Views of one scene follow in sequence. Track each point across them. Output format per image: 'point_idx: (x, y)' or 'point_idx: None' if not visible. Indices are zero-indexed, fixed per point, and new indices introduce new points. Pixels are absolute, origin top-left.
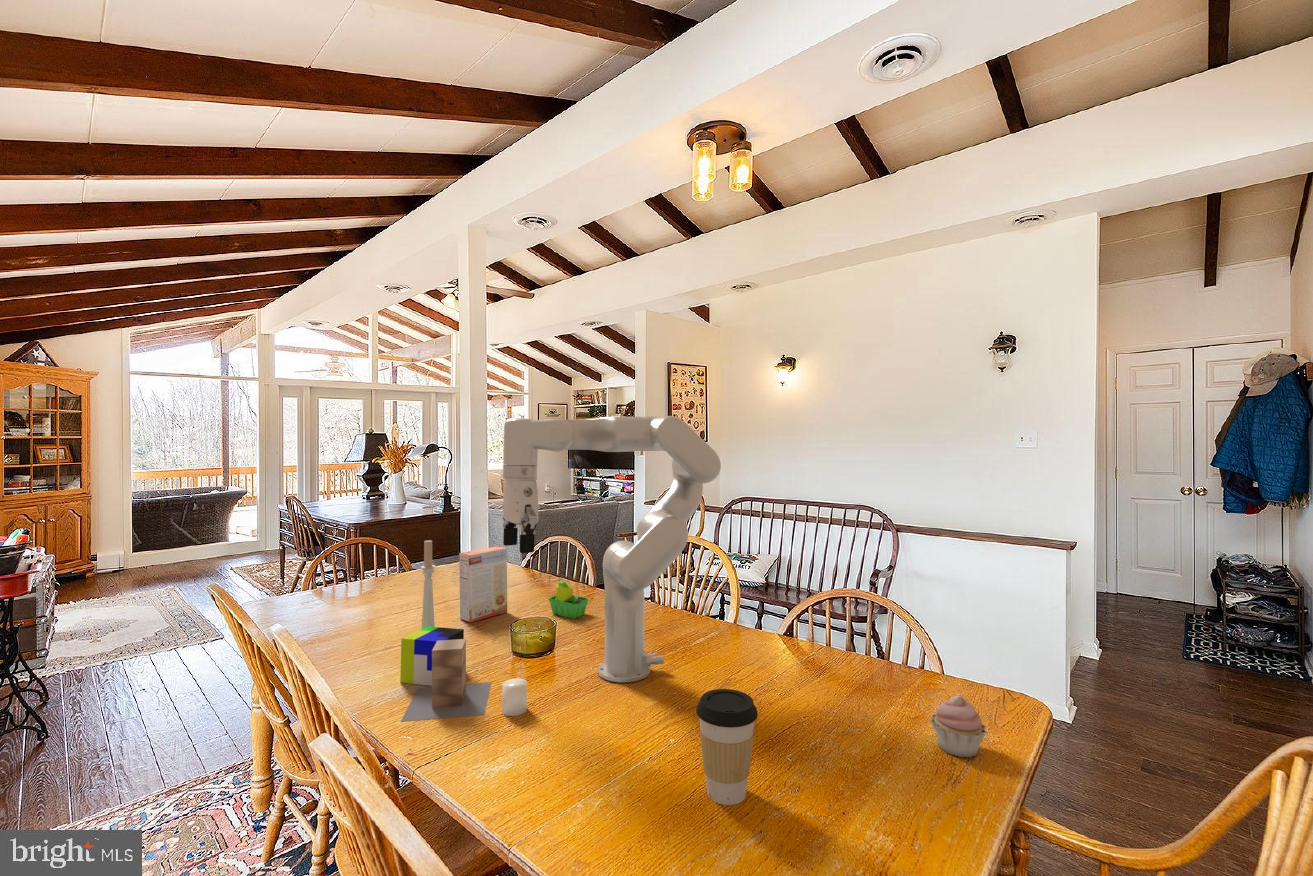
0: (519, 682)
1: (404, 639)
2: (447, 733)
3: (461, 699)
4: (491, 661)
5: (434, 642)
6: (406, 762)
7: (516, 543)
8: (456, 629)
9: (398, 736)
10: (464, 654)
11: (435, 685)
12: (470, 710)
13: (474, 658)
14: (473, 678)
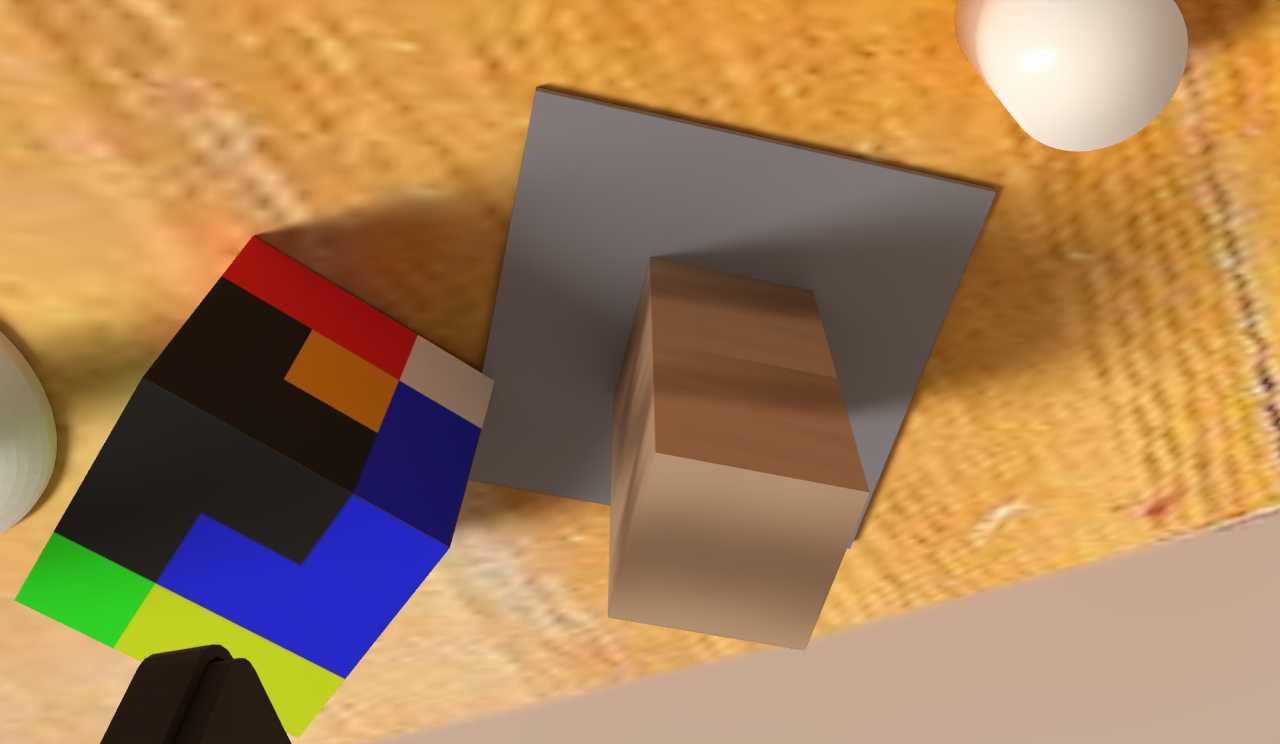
0: (1097, 28)
1: (308, 720)
2: (1067, 368)
3: (816, 310)
4: (108, 28)
5: (425, 575)
6: (1221, 522)
7: (237, 676)
8: (140, 428)
9: (969, 548)
10: (731, 415)
11: None
12: (899, 254)
13: (23, 140)
14: (402, 184)
